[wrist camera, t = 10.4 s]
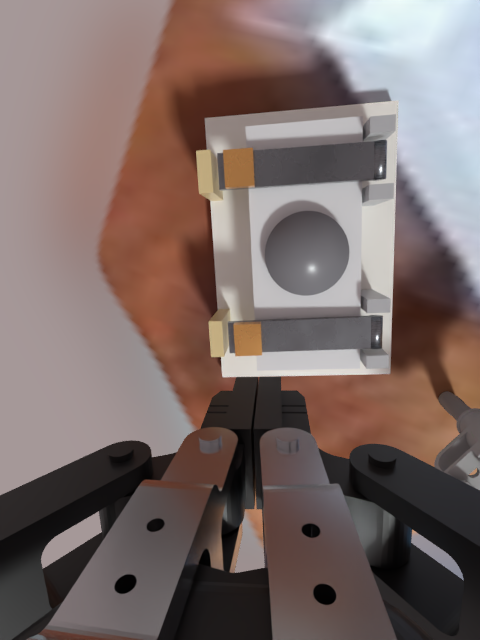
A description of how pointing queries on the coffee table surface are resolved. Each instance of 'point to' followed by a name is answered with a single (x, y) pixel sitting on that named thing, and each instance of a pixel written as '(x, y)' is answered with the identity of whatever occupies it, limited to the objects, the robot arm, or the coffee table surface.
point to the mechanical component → (461, 442)
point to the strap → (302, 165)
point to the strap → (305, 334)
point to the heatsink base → (241, 235)
